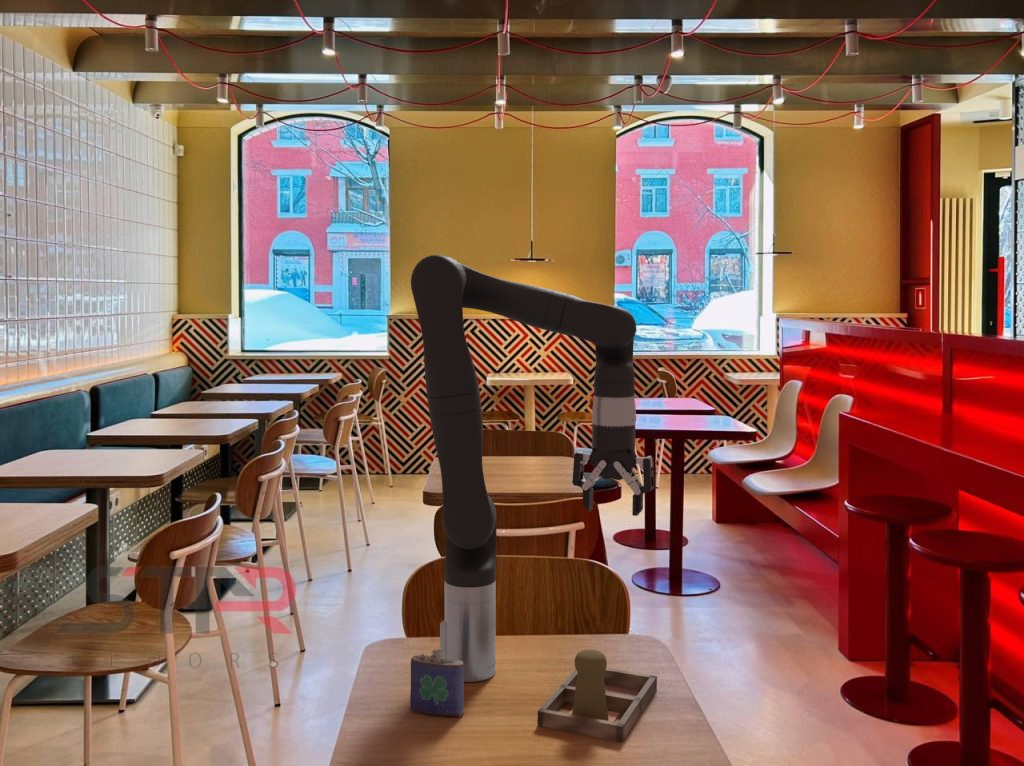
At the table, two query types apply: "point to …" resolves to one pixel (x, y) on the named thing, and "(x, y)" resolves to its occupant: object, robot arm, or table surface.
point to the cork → (590, 685)
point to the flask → (437, 686)
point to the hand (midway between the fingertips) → (612, 512)
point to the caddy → (614, 703)
